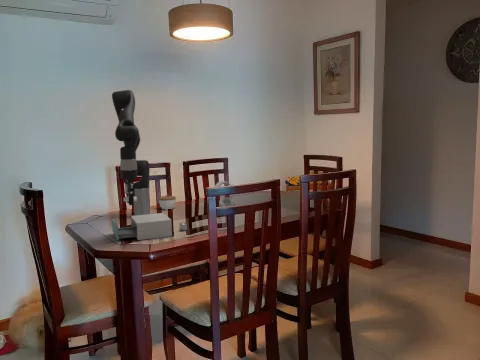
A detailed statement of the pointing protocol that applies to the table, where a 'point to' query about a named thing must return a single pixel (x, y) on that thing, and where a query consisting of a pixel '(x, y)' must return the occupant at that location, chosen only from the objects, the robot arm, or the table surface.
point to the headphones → (225, 201)
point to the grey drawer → (123, 231)
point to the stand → (183, 226)
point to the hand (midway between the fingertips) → (130, 203)
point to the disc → (126, 199)
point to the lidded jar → (167, 202)
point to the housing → (152, 226)
